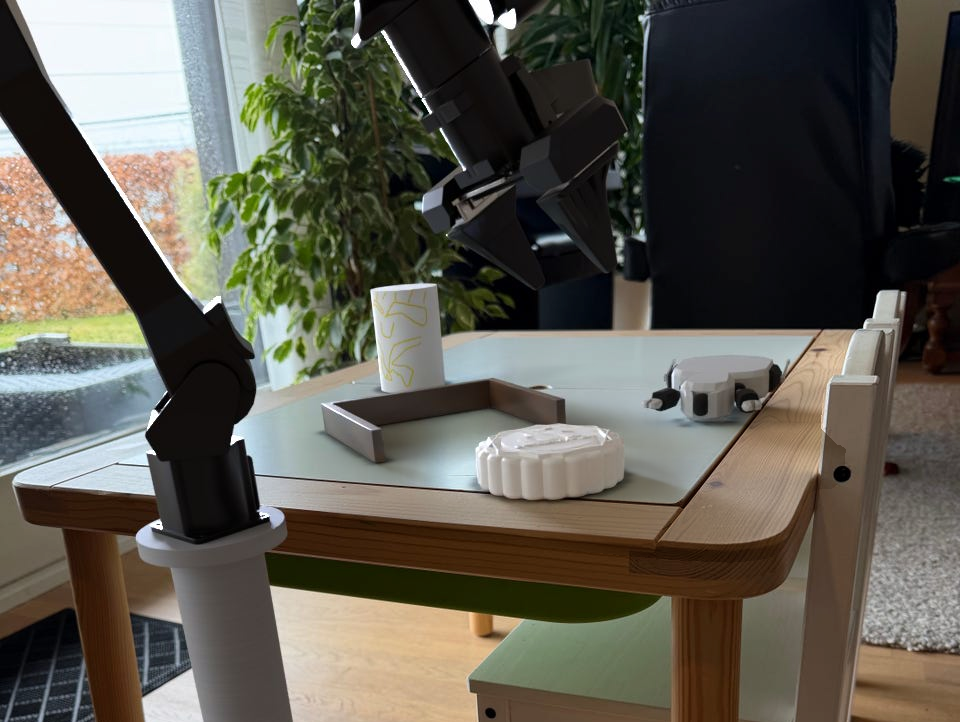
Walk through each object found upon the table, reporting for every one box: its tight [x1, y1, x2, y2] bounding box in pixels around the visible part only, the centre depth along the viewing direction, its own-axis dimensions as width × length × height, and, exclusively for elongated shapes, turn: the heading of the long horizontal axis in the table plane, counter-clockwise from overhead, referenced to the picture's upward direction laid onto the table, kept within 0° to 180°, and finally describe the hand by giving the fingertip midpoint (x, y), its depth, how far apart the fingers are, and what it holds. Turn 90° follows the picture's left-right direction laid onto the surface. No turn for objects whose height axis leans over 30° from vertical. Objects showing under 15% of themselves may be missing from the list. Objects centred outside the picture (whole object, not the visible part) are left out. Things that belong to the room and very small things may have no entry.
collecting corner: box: [320, 377, 567, 464], centre depth 100 cm, size 16×20×3 cm
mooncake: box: [475, 423, 625, 501], centre depth 80 cm, size 12×12×4 cm
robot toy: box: [642, 354, 791, 423], centre depth 99 cm, size 12×4×15 cm
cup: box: [370, 283, 446, 394], centre depth 122 cm, size 8×8×12 cm
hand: (574, 278), depth 72 cm, fingers open, 9 cm apart
